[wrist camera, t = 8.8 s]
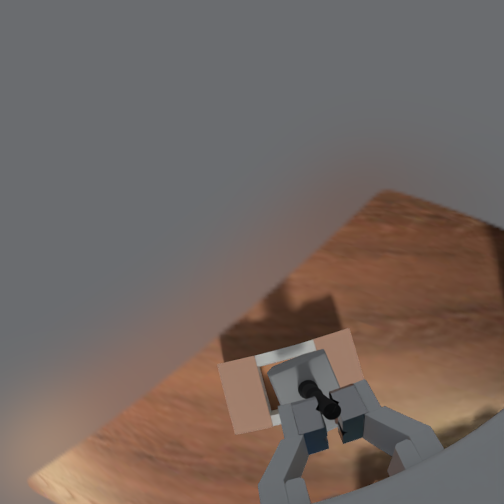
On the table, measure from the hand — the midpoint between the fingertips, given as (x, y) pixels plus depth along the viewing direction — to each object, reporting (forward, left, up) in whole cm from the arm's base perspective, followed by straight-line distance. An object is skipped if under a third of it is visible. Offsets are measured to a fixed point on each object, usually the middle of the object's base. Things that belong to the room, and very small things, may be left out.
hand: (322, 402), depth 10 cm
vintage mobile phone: (0, 0, -23) cm, 23 cm away
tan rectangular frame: (0, +1, -33) cm, 33 cm away
